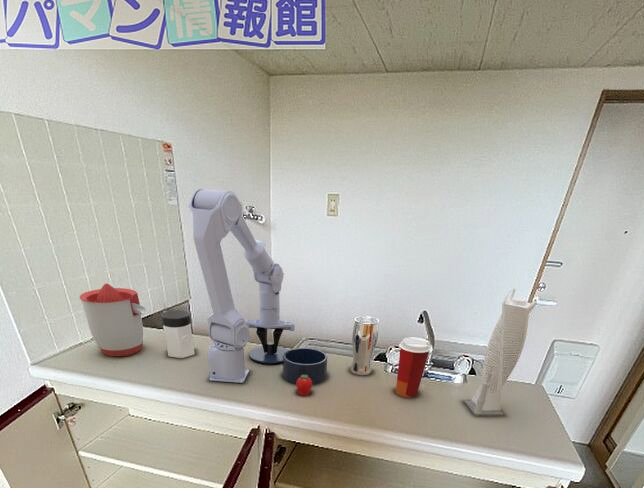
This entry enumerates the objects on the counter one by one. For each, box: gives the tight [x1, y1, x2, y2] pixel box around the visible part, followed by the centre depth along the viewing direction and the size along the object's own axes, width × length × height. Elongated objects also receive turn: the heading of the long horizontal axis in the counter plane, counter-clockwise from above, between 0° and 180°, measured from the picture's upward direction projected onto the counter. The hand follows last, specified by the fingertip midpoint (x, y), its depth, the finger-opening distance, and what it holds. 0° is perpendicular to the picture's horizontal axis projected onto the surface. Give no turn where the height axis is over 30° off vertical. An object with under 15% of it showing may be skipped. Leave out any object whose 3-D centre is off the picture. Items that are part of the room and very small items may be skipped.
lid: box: [248, 341, 290, 364], centre depth 124 cm, size 13×13×4 cm
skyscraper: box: [463, 287, 537, 417], centre depth 94 cm, size 8×8×28 cm
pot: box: [282, 347, 328, 386], centre depth 113 cm, size 12×12×6 cm
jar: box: [161, 310, 195, 359], centre depth 122 cm, size 9×8×12 cm
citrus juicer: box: [79, 282, 147, 357], centre depth 121 cm, size 16×17×20 cm
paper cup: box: [395, 336, 432, 398], centre depth 103 cm, size 8×8×14 cm
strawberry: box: [295, 375, 313, 396], centre depth 105 cm, size 4×4×5 cm
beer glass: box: [350, 315, 380, 376], centre depth 114 cm, size 7×7×15 cm
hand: (270, 352), depth 124 cm, fingers closed on lid, 2 cm apart
